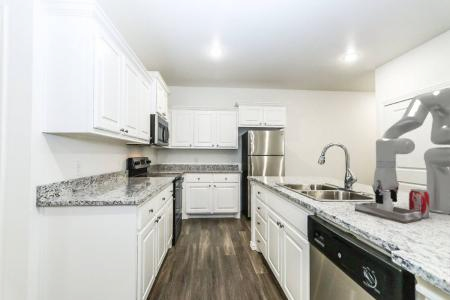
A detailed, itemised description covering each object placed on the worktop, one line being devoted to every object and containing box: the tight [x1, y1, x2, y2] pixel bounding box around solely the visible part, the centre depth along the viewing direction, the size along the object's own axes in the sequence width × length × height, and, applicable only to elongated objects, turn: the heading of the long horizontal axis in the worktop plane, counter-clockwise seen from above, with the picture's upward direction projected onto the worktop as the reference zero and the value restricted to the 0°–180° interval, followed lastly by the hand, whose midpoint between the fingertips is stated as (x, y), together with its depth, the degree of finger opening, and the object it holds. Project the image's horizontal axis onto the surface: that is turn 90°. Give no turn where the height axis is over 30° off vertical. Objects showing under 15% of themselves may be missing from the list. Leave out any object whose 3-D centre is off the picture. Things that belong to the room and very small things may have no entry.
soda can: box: [408, 188, 430, 219], centre depth 104 cm, size 7×7×12 cm
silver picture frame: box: [354, 201, 423, 224], centre depth 105 cm, size 12×22×4 cm, turn 23°
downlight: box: [377, 190, 395, 212], centre depth 106 cm, size 8×7×10 cm
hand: (386, 202), depth 106 cm, fingers open, 9 cm apart
